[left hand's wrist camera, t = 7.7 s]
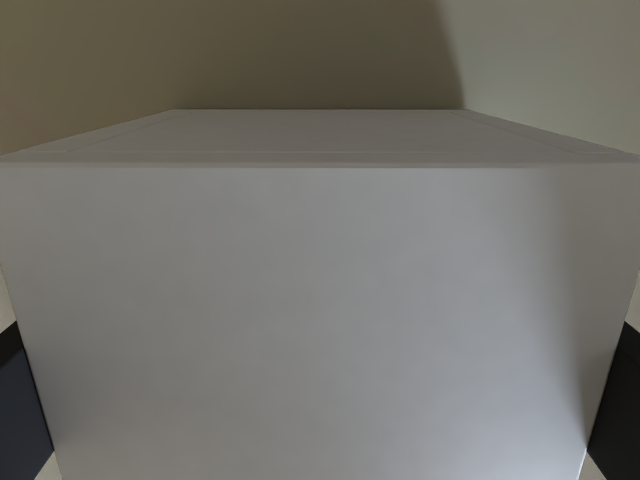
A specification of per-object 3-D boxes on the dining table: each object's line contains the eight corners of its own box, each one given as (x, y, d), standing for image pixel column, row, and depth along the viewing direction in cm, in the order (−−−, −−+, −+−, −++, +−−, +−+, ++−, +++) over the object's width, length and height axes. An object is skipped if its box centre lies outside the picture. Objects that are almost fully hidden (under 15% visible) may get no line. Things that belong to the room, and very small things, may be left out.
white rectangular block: (423, 492, 24) (492, 775, 15) (216, 492, 24) (146, 774, 15) (469, 109, 17) (673, 163, 7) (171, 109, 17) (-33, 162, 7)
